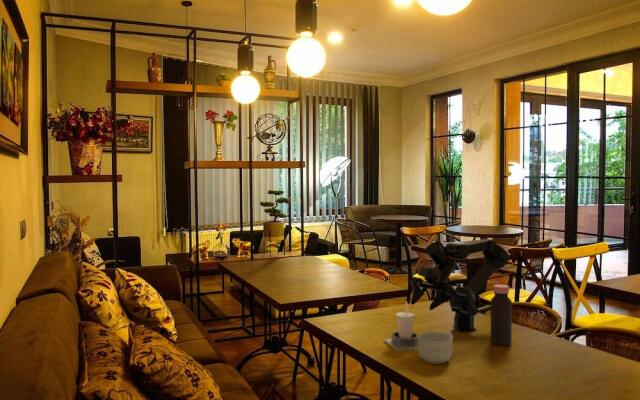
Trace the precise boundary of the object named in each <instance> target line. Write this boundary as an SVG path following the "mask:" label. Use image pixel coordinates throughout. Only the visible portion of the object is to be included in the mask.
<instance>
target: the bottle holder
mask: <svg viewBox="0 0 640 400" xmlns="http://www.w3.org/2000/svg"><path fill="white" fill-rule="evenodd" d="M418 335H419V334H418V333H417V332H414V331H412V337H411V338H410V339H403V338H400V337H399V330H398V331H397V330H396V331H394V332H392V333H391V337H390V338H384V339H383V341H384V343H386V344H387V345H389V346H390V347H391V348H392V349H393V350H395V351H396V352H405V351H406V352H407V351H413V350H418V339H417V336H418Z"/></svg>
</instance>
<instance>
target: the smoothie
mask: <svg viewBox="0 0 640 400" xmlns="http://www.w3.org/2000/svg"><path fill="white" fill-rule="evenodd" d="M408 307H409V306H408V301H406V302H405V312H404V311H402V312H401V311H400V312H396V313H395V319H396V322H397V328H398V331H399V337H400V338H403V339H410V338H411V337H412V332H413V328H414V327H413V326H414V319H415V318H416V317H415V314H414V313H412V312H409V311H408V310H409V309H408Z"/></svg>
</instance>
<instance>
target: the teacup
mask: <svg viewBox="0 0 640 400" xmlns="http://www.w3.org/2000/svg"><path fill="white" fill-rule="evenodd" d="M417 339H418V349H417V350H418V354H419V356H420V358H421V359H423V360H424V361H425V362H426V363H428V364H434V365H437V364H444V363H446V362H447V361H449V359H450V358H451V357H452V356H453V341H454V335H453V333H452V332H451V331H447V332H444V331H443V332H441V331H426V332H421V333H419V334H418V336H417Z"/></svg>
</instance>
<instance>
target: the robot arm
mask: <svg viewBox="0 0 640 400" xmlns="http://www.w3.org/2000/svg"><path fill="white" fill-rule="evenodd" d="M424 251H425V252H424V253H425V254H426V255H427V257H428V258H429V259H430V260H431V261H432V262H433V264H434V265H436V266H433V267H431V268H429V267H425V266H420V267H419V270H418V273H417V275H418V276H420V277H418V276H412V277H411V278H410V280H409V283H410V285H411V286H412V296H411V301H410V304H411V305H412V306H413V305H415V304H416V303H417V302H418V301H419V300H420V299H421V298H422V297H423V296H424V295H425V292H426V291H427V290H432V291H436V293H435V294H436V295H435V297H434V298H433V300H432V301H431V303H430V305H429V308H428V309H429V310H430V311H433V310H434V309H436V308H438V307H439V306H441V305H443V304H446V302H449V305H450V309H451V312H454V317H453V325H452V327H453V329H455V330H456V331H457V330H458V331H460V332H463V333H464V332H471V331H477V328H475V317H476V315H478V313H479V308H478V306H477V305H476V304H475V303H476V295H477V294H478V293H479V292H480V291H481V289H482V287H484V285H485V284H486V283H487V281H488V280H489V279H490V278H491V276H492V275H493V274H494V272H495V271H498V270H500V269H502V268H504V267H505V266H506V265H507V264H508V262H509V261H510V254H509V253H508V251H506V250H505V248H503V247H502V246H501V245H499V244H497V243H496V241H495V240H494V239H490V238H482V239H479V240H473V241H470V242H466V243H455V242H448V243H447V244H446V245H445V246H444V245H443V243H442V241H441V240H434V242H431V243H430V244H429V245H427V246H426V247H425V249H424ZM479 252H480V253H482V255H483V256H484V257H483V263H482V265H481V266H480V267H479V268H478V270H477V271H476V272H475V273H474V275H472V277H471V278H470V279H469V281H468V282H467V283H466V284H465V286H463V287H461V286H456V287H455V288H454V287H453V286H452V285H451V283H449V282H450V281H451V279H450V276H451V274H452V273H453V272H454V271H455V270H456V271H459V270H460V266H459V263H458V262H456V261H455V260H457V261H462V260H465V259H467V258H468V257H469V256H471V255H473V254H476V253H479ZM421 277H423V279H422V278H421Z"/></svg>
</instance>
